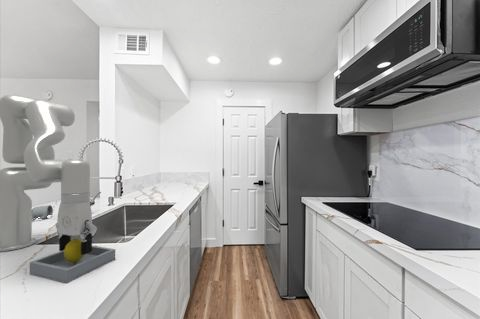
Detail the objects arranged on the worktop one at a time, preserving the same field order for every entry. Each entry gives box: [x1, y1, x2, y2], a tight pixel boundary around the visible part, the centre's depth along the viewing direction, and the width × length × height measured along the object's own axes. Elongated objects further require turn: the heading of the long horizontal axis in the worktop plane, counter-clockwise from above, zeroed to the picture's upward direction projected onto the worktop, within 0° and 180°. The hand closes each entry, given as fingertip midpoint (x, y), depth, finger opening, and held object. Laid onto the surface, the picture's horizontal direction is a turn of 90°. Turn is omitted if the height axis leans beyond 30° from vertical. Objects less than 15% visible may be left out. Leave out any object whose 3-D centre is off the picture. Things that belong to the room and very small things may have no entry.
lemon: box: [64, 238, 84, 263], centre depth 73 cm, size 6×6×8 cm
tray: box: [29, 245, 116, 284], centre depth 73 cm, size 16×16×4 cm
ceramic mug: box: [32, 204, 54, 220], centre depth 133 cm, size 11×8×8 cm
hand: (75, 251), depth 73 cm, fingers open, 9 cm apart
